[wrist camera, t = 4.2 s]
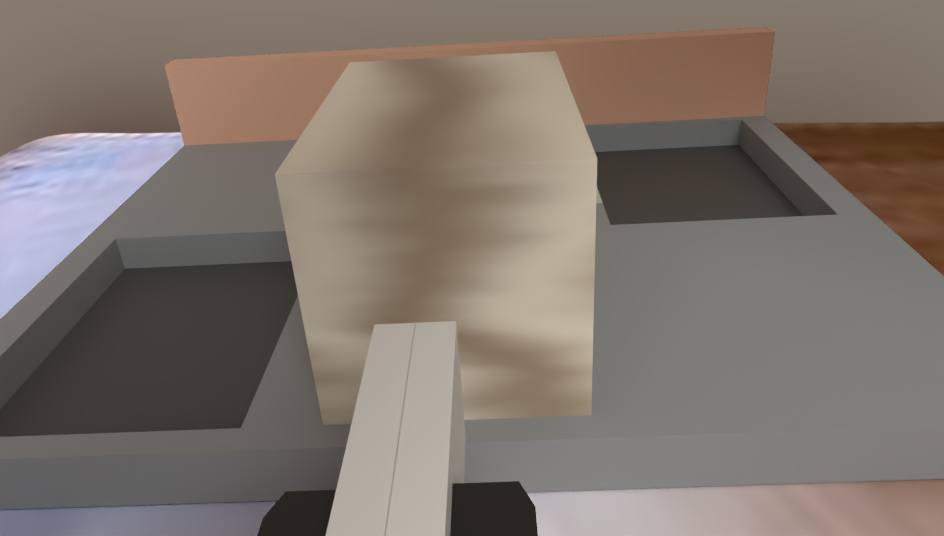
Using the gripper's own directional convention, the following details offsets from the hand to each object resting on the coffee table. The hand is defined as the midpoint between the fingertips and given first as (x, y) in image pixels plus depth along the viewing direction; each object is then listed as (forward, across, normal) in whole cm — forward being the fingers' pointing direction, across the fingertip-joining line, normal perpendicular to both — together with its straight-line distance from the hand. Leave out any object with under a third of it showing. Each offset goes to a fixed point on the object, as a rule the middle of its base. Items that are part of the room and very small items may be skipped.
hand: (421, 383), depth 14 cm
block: (+12, 0, -6) cm, 13 cm away
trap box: (+20, 0, -8) cm, 22 cm away
